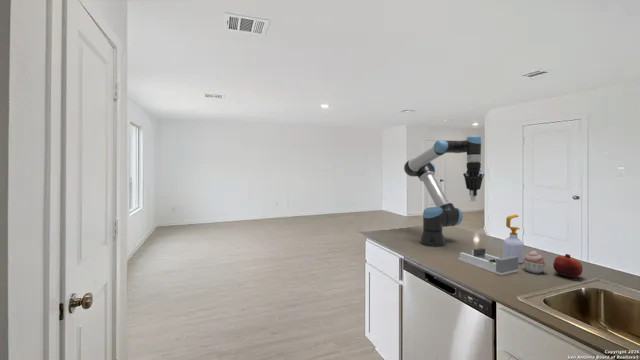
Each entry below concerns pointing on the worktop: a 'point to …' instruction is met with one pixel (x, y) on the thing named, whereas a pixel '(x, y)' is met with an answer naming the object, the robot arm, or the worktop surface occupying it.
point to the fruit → (567, 266)
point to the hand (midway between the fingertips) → (473, 201)
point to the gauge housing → (492, 263)
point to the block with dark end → (483, 255)
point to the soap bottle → (513, 243)
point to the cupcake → (534, 262)
